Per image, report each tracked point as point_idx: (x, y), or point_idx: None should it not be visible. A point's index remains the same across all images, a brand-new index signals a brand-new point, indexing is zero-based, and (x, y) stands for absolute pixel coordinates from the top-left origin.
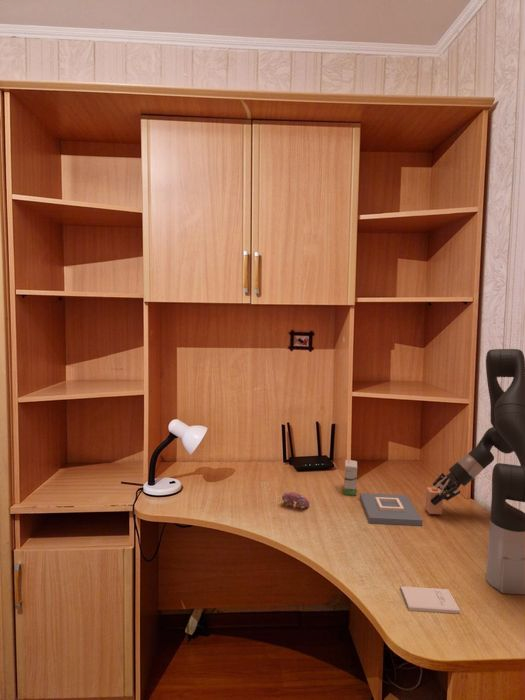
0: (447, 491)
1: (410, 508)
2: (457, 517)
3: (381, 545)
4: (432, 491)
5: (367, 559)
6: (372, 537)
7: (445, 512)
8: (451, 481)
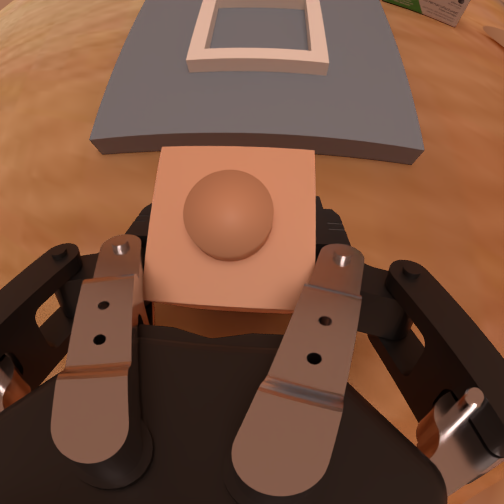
0: (15, 295)
1: (229, 108)
2: None
3: (42, 35)
4: (185, 176)
5: (16, 24)
6: (80, 14)
7: None
8: (71, 464)
